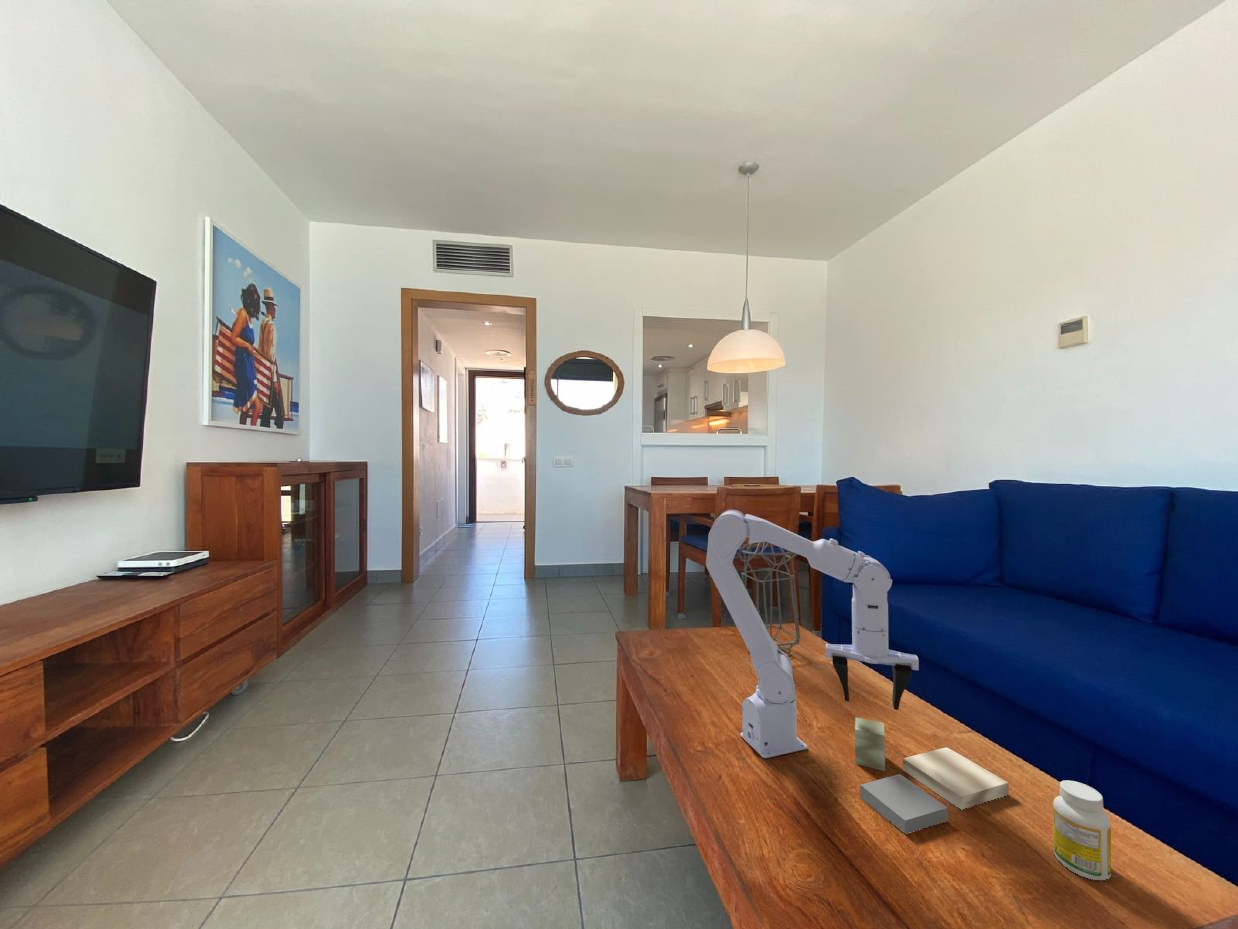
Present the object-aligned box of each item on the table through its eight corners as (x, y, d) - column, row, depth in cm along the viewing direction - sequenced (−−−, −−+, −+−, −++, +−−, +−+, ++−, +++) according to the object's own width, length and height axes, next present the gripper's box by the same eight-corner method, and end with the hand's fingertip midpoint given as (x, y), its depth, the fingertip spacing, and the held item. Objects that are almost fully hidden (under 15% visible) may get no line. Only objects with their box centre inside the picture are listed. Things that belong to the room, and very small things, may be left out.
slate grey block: (905, 835, 67) (905, 820, 67) (860, 797, 74) (860, 784, 74) (947, 821, 69) (947, 807, 69) (900, 786, 77) (900, 774, 77)
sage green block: (855, 764, 83) (854, 729, 83) (856, 750, 87) (855, 717, 87) (885, 771, 81) (884, 735, 81) (884, 757, 85) (883, 723, 85)
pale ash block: (961, 810, 71) (961, 797, 71) (903, 770, 81) (902, 758, 81) (1008, 795, 74) (1008, 782, 74) (947, 758, 84) (946, 747, 84)
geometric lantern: (812, 660, 127) (808, 529, 127) (759, 668, 123) (755, 533, 123) (777, 639, 143) (774, 521, 142) (730, 646, 138) (726, 525, 138)
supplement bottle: (1085, 885, 59) (1083, 806, 59) (1042, 850, 64) (1041, 778, 64) (1124, 881, 59) (1122, 803, 59) (1078, 846, 64) (1077, 775, 64)
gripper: (825, 628, 84) (826, 705, 84) (921, 639, 79) (922, 722, 78) (825, 616, 91) (826, 688, 91) (914, 626, 85) (915, 702, 85)
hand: (870, 703), depth 85 cm, fingers open, 7 cm apart
